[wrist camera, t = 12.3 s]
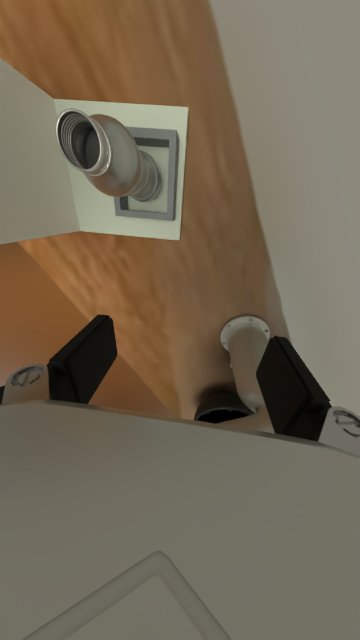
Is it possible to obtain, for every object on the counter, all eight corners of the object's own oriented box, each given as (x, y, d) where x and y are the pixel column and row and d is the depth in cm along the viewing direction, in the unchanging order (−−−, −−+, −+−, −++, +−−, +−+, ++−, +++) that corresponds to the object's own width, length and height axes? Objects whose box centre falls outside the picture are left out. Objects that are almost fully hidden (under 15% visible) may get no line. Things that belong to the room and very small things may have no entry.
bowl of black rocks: (245, 416, 67) (259, 480, 51) (192, 411, 68) (190, 471, 52) (258, 381, 56) (282, 448, 40) (196, 376, 58) (194, 438, 42)
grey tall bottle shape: (138, 144, 28) (47, 43, 11) (171, 176, 30) (135, 131, 13) (120, 184, 31) (26, 151, 14) (151, 211, 33) (100, 210, 16)
